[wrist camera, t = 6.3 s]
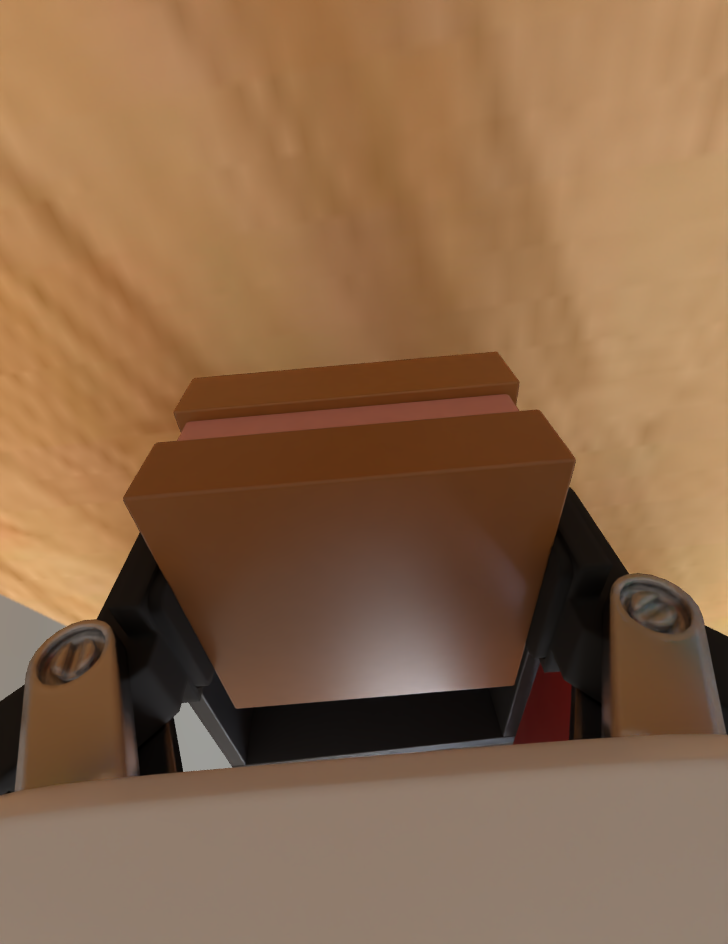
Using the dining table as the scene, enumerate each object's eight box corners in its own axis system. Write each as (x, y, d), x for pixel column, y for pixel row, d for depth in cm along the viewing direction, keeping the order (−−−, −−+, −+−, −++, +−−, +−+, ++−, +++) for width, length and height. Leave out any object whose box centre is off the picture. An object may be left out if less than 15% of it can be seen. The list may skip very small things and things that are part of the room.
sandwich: (258, 575, 14) (234, 709, 10) (192, 377, 9) (120, 499, 6) (473, 557, 13) (515, 687, 10) (497, 350, 9) (578, 459, 6)
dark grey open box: (250, 663, 29) (235, 772, 24) (184, 514, 21) (140, 634, 16) (482, 638, 29) (515, 741, 24) (509, 482, 21) (567, 589, 16)
